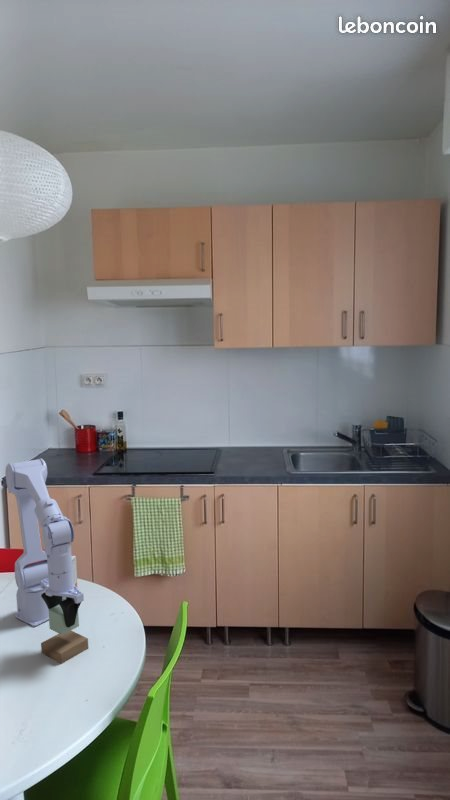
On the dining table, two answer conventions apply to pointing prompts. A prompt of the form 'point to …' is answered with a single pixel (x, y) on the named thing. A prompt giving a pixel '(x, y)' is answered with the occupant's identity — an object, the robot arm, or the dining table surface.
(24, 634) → the dining table surface
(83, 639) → the walnut block
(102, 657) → the dining table surface
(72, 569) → the skincare box
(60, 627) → the sage cube
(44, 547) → the robot arm
